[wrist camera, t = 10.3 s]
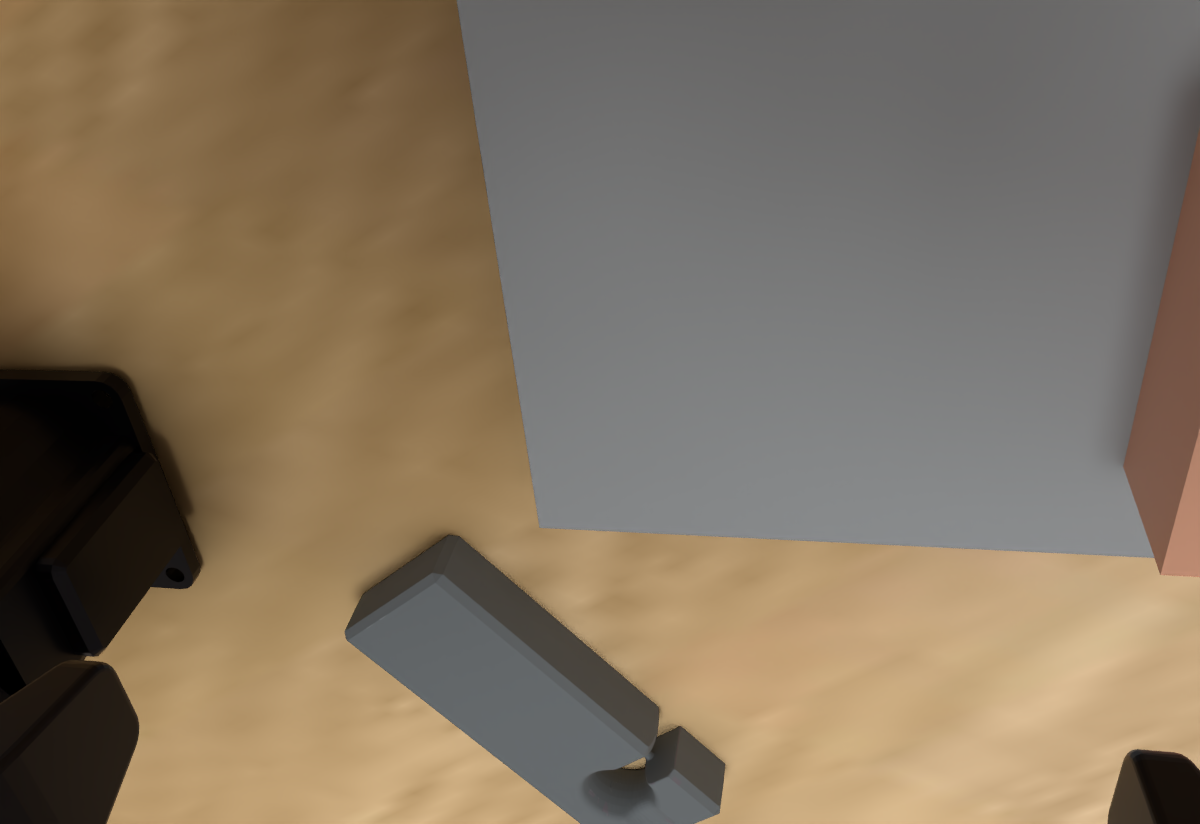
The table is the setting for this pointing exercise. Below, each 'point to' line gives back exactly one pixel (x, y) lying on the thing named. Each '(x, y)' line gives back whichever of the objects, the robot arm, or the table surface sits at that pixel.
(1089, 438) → the socket base
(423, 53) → the table surface
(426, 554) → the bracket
